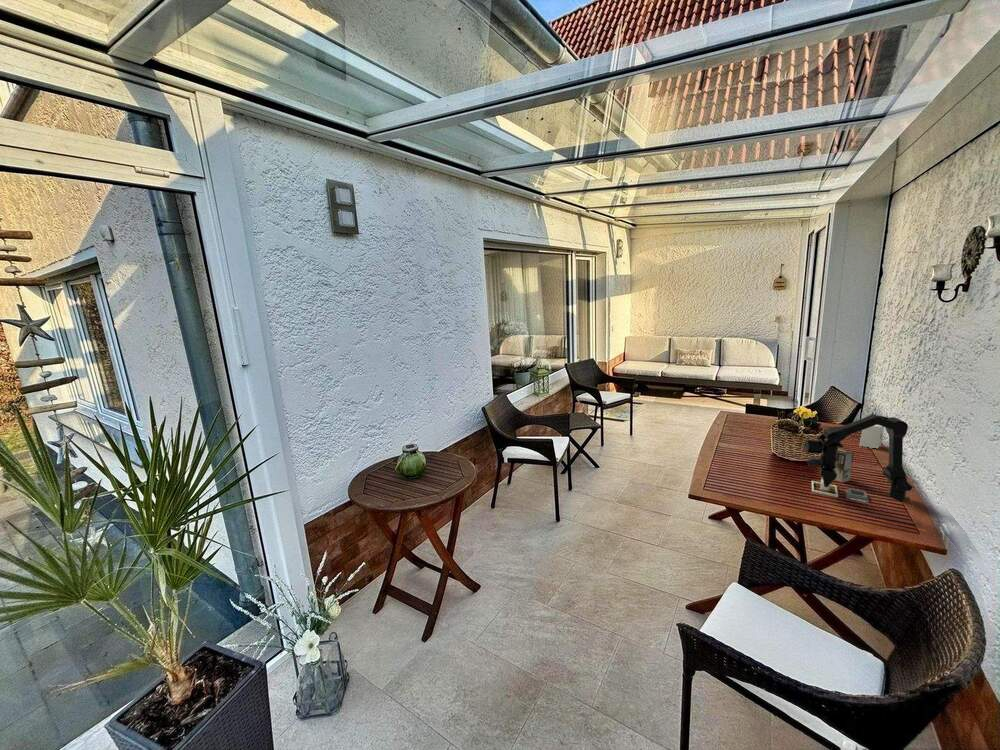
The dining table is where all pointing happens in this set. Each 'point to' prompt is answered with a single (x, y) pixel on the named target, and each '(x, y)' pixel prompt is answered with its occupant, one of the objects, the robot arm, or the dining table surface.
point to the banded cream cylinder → (823, 485)
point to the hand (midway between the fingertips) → (825, 483)
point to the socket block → (857, 495)
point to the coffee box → (843, 465)
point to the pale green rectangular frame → (824, 492)
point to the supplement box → (872, 436)
